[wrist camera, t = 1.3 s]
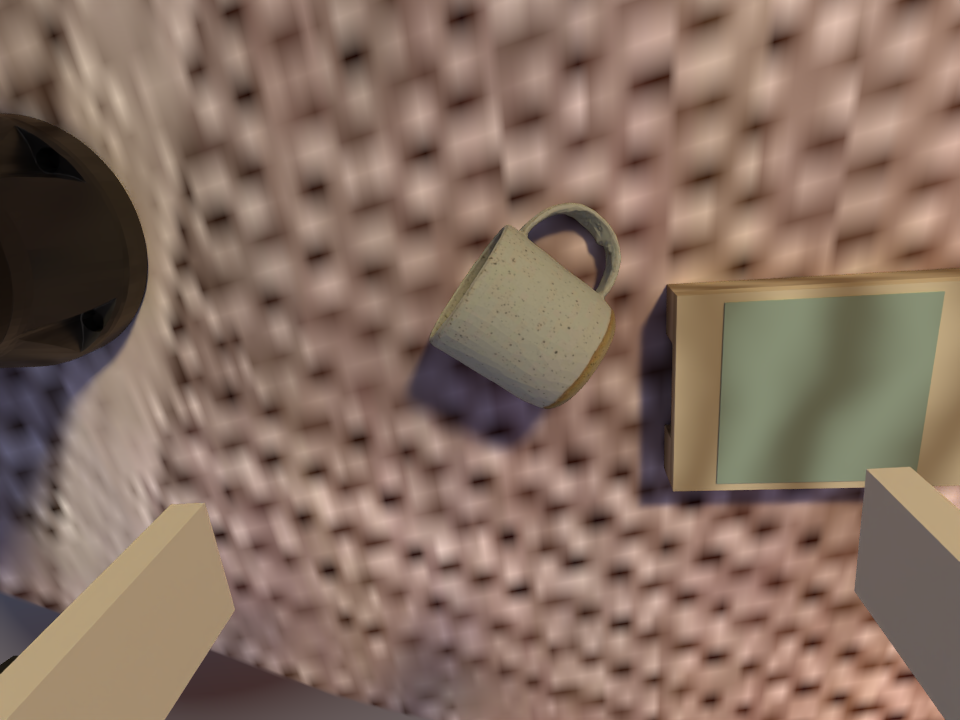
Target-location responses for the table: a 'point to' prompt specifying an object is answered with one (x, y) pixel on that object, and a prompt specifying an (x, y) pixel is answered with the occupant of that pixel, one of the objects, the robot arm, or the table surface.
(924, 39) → the table surface
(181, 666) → the robot arm
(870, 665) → the table surface
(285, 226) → the table surface
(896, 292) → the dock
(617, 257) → the ceramic mug
